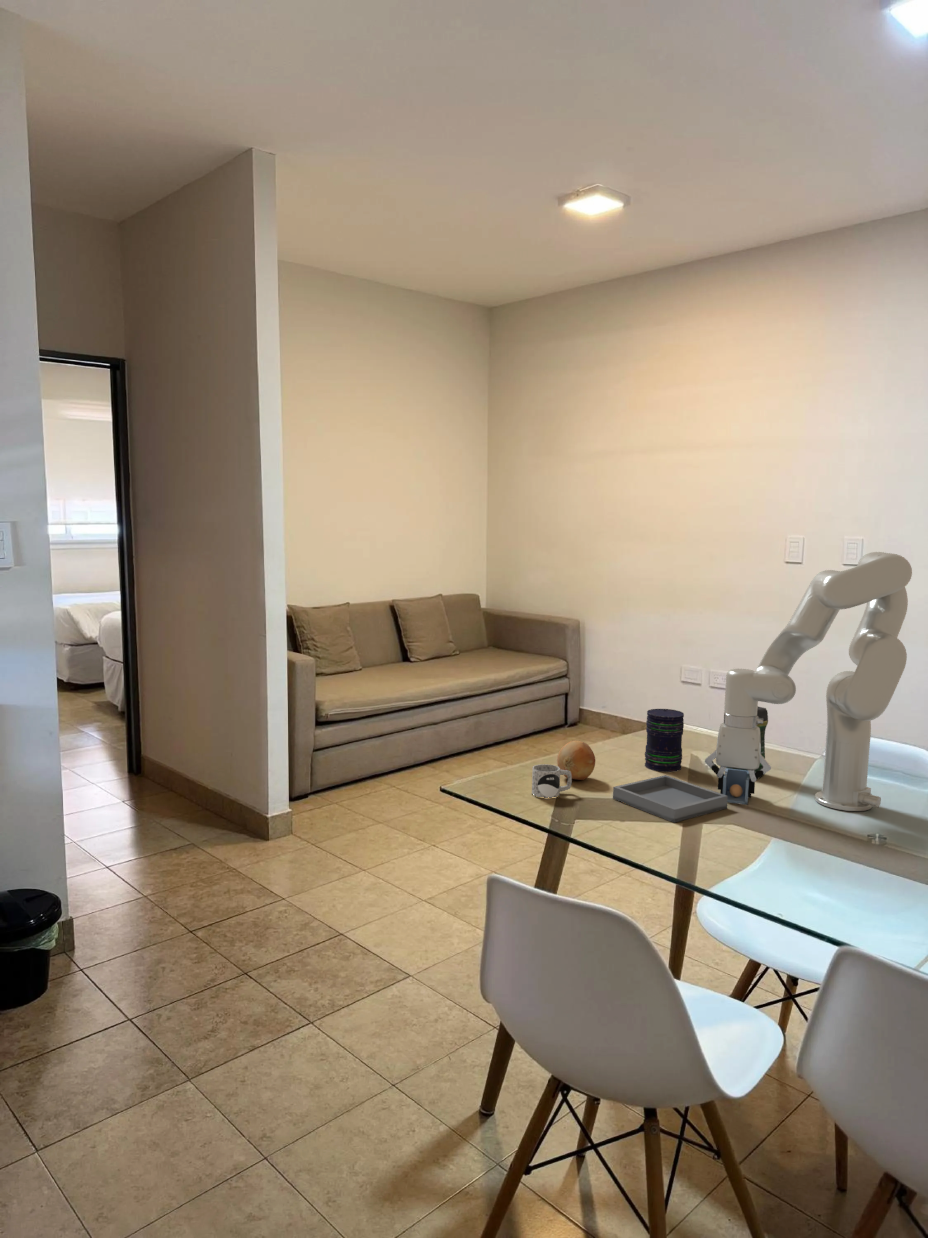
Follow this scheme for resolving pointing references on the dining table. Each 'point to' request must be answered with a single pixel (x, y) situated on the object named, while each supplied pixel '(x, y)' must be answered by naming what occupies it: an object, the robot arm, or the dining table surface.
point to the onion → (576, 759)
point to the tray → (670, 798)
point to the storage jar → (664, 740)
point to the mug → (548, 780)
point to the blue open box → (740, 779)
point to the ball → (736, 790)
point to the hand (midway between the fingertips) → (735, 793)
